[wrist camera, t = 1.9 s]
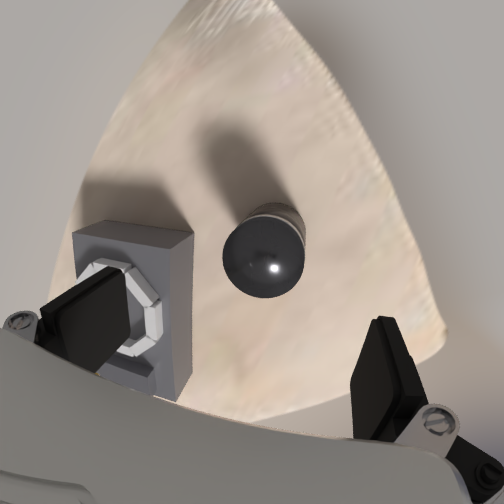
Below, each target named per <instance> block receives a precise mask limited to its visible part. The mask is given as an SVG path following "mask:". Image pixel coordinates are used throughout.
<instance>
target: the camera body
mask: <svg viewBox="0 0 504 504" xmlns="http://www.w3.org/2000/svg"><path fill="white" fill-rule="evenodd" d="M72 237H73V249H74V260H75V269H76V277H77V280H76V282H75V283H76V285H77V284H79V283H80V282H82V281H83V280H85V279H87V278H88V277H90V276H91V275H93V274H95V273H96V272H98V271H100V270H101V269H103V268H105V267H106V266H111V267H115V268H119V269H121V270H122V272H123V273H124V274H125V278H126V290H127V301H128V311H129V319H130V328H131V333H130V336H129V338H128V339H127V340H126V341H125V342H124V343H123V344H122V345H121V346H120V348H119V349H118V350H117V351H116V352H115V353H114V354H113V355H112V356H111V357H110V358H109V359H108V360H107V361H106V362H105V363H104V364H103V365H102V366H101V368H100V369H99V370H98V371H97V372H96V373H98V374H99V375H100V376H102V377H104V378H106V379H109V380H111V381H114V382H116V383H118V384H121V385H123V386H126V387H129V388H131V389H134V390H136V391H139V392H142V393H145V394H147V395H150V396H153V395H156V396H159V397H162V398H165V399H168V400H171V401H174V402H176V401H177V399H178V397H179V396H180V394H181V392H182V390H183V388H184V387H185V385H186V383H187V381H188V379H189V378H190V376H191V374H192V285H193V252H194V233H192V232H185V231H178V230H171V229H164V228H157V227H150V226H143V225H135V224H128V223H121V222H114V221H107V220H104V221H101V222H98V223H96V224H93V225H90V226H88V227H85V228H82V229H80V230H77V231H75V232H72ZM74 286H75V285H74Z"/></svg>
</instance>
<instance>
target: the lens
mask: <svg viewBox="0 0 504 504" xmlns="http://www.w3.org/2000/svg"><path fill="white" fill-rule="evenodd" d="M305 240H306V229H305V225H304V222H303V220H302V218H301V216H300V215H299V214H298V213H297V212H296V211H295V210H294V209H293V208H291V207H289V206H287V205H285V204H281V203H269V204H265V205H263V206H260V207H259V208H257V209H256V210H255V211H254V212H253V213H252V214H251V215H250V216H248V217H247V218H246V219H245V220H244V221H243V222H242V223H241V224H240V225H239V226H238V227H237V228H236V229H235V230H234V231H233V232H232V233H231V234H230V235H229V237H228V239H227V240H226V242H225V245H224V248H223V266H224V269H225V272H226V274H227V276H228V278H229V279H230V281H231V282H232V283H233V284H234V285H235V286H236V287H237V288H238V289H239V290H241V291H242V292H244V293H246V294H248V295H250V296H253V297H258V298H273V297H277V296H280V295H283V294H285V293H286V292H288V291H289V290H291V289H292V288H293V287H294V286H295V285H296V283H297V282H298V281H299V279H300V277H301V275H302V272H303V268H304V261H305Z"/></svg>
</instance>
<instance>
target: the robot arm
mask: <svg viewBox="0 0 504 504" xmlns="http://www.w3.org/2000/svg"><path fill="white" fill-rule="evenodd" d="M40 312H41V316H42V318H41V319H40V320H39V319H38V316H37V314H35V313H34V312H31V311H20V312H17V313H14V314H12V315H10V316H9V317H8V318H7V319H6V321H5V323H4V326H3V328H2V329H1V328H0V504H504V467H503V466H502V464H501V463H500V462H499V461H497V460H496V459H495V458H493V457H491V456H489V455H488V454H487V453H485V452H483V451H482V450H480V449H478V448H477V447H475V446H474V445H472V444H471V443H469V442H467V441H466V440H464V439H463V438H461V437H460V436H458V435H457V434H458V432H459V429H460V423H459V419H458V417H457V416H456V414H455V413H454V412H453V411H452V410H451V409H449V408H448V407H446V406H443V405H440V404H429V403H428V400H427V397H426V394H425V392H424V388H423V386H422V383H421V380H420V377H419V374H418V372H417V369H416V366H415V364H414V361H413V358H412V357H411V356H410V355H409V353H408V350H407V347H406V345H405V342H404V340H403V337H402V335H401V332H400V330H399V327H398V325H397V323H396V320H395V318H393V317H385V316H378V318H377V319H373V320H372V321H371V324H370V327H369V330H368V333H367V336H366V339H365V342H364V344H363V347H362V350H361V353H360V356H359V358H358V361H357V364H356V366H355V369H354V372H353V374H352V377H351V381H350V391H351V404H352V418H353V438H354V439H352V438H342V437H334V436H324V435H315V434H308V433H301V432H294V431H288V430H282V429H276V428H270V427H265V426H260V425H255V424H250V423H245V422H241V421H236V420H232V419H228V418H224V417H220V416H216V415H212V414H208V413H205V412H201V411H197V410H194V409H190V408H187V407H184V406H180V405H177V404H174V403H171V402H168V401H165V400H162V399H159V398H156V397H153V396H150V395H147V394H145V393H142V392H139V391H136V390H134V389H131V388H129V387H126V386H123V385H121V384H118V383H116V382H114V381H111V380H109V379H106V378H104V377H102V376H99V375H97V374H95V373H96V372H97V371H98V370H99V369H100V368H101V366H102V365H103V364H104V363H105V362H106V361H107V360H108V359H109V358H110V357H111V356H112V355H113V354H114V353H115V352H116V351H117V350H118V349H119V348H120V346H121V345H122V344H123V343H124V342H125V341H126V340H127V339H128V338H129V336H130V333H131V328H130V319H129V311H128V301H127V290H126V278H125V274H124V273H123V272H122V270H121V269H119V268H115V267H111V266H106V267H105V268H103V269H101V270H100V271H98V272H96V273H95V274H93V275H91V276H90V277H88V278H87V279H85V280H83V281H82V282H80V283H79V284H77V285H75V286H74V287H72V288H71V289H69V290H68V291H66V292H64V293H63V294H61V295H60V296H58V297H57V298H55V299H54V300H52V301H50V302H49V303H47V304H46V305H45V306H43V307H41V308H40Z"/></svg>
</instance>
